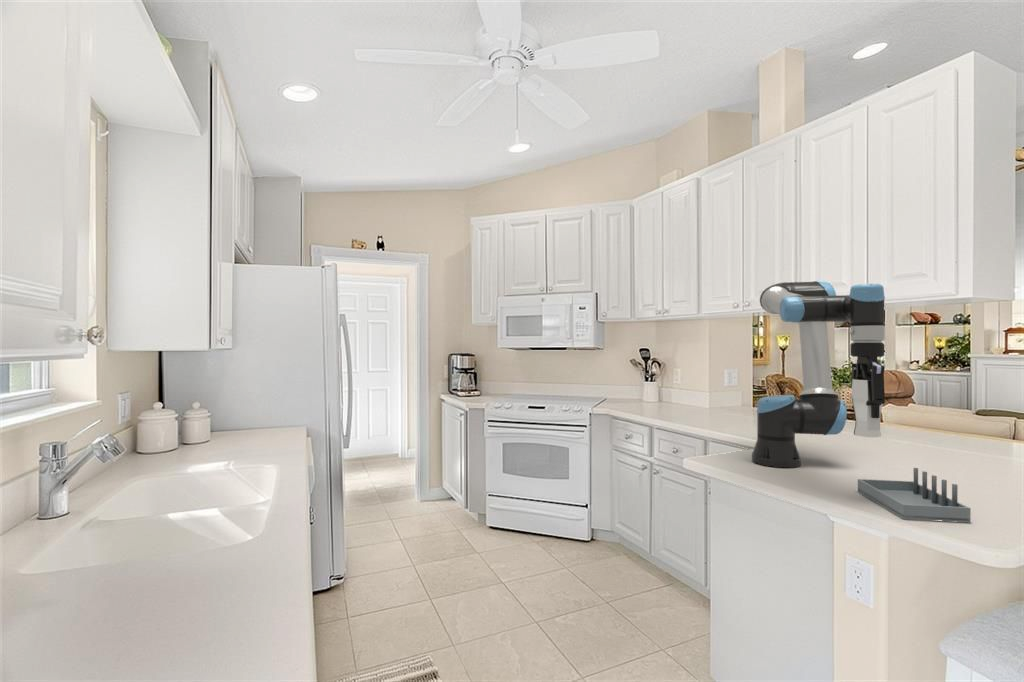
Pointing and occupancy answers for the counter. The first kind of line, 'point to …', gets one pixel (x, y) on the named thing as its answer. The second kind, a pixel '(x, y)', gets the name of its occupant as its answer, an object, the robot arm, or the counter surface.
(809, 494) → the counter surface
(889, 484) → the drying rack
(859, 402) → the beer glass
